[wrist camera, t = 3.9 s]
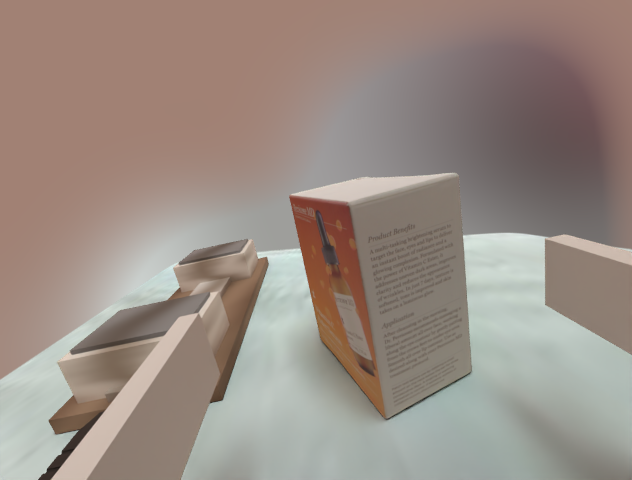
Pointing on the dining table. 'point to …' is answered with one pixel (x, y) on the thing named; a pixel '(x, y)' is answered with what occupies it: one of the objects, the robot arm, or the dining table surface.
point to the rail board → (165, 329)
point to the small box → (389, 282)
